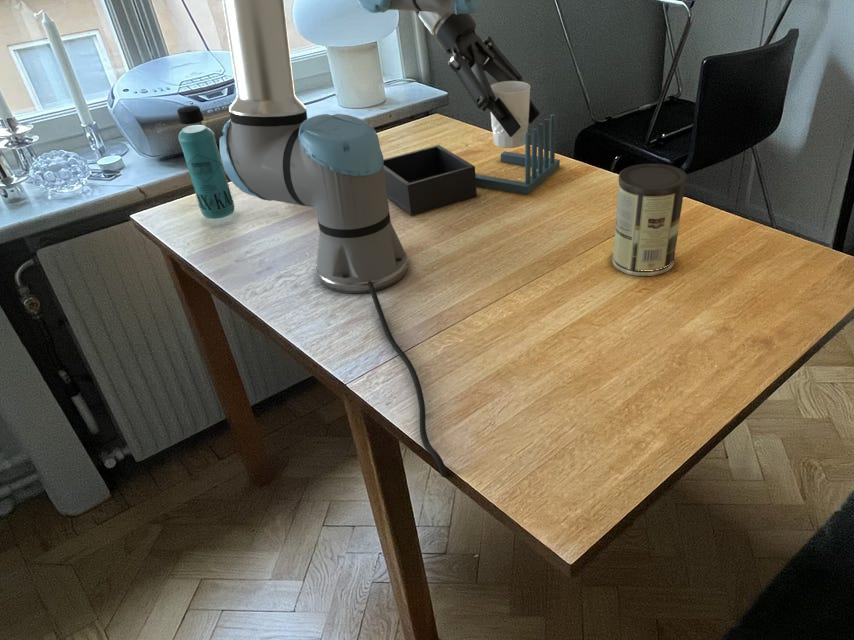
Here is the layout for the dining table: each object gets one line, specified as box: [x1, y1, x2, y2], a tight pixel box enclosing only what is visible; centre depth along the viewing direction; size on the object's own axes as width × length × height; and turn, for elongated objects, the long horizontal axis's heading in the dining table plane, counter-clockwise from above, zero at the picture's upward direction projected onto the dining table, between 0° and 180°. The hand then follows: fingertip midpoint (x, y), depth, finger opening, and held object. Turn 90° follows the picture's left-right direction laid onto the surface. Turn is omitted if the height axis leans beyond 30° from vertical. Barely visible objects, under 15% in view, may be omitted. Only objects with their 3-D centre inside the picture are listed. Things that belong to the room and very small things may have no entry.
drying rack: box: [475, 113, 561, 196], centre depth 145 cm, size 13×15×11 cm
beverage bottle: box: [176, 104, 236, 220], centre depth 134 cm, size 6×7×20 cm
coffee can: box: [611, 162, 688, 277], centre depth 116 cm, size 10×10×14 cm
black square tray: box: [383, 144, 477, 217], centre depth 143 cm, size 15×15×6 cm
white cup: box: [489, 81, 531, 149], centre depth 141 cm, size 8×8×10 cm
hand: (525, 125), depth 141 cm, fingers closed on white cup, 8 cm apart
